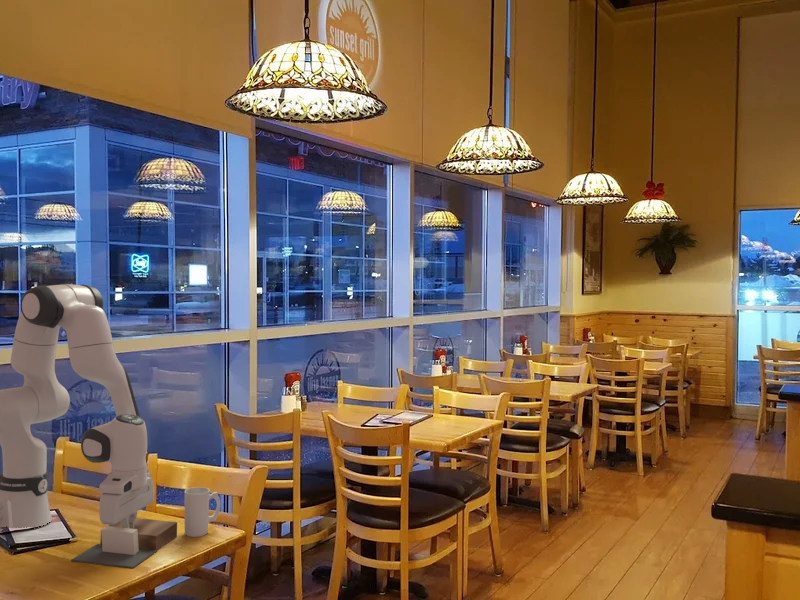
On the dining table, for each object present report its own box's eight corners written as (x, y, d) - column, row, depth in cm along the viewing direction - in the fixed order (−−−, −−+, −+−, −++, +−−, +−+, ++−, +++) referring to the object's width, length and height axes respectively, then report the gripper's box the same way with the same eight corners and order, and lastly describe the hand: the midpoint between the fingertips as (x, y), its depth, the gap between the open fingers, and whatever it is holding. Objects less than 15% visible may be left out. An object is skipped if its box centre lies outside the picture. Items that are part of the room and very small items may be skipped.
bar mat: (71, 561, 184) (71, 559, 184) (97, 545, 194) (97, 543, 194) (133, 568, 180) (133, 566, 180) (156, 552, 191) (156, 550, 191)
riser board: (100, 544, 195) (100, 529, 195) (124, 530, 206) (124, 516, 205) (155, 551, 192) (156, 535, 191) (176, 536, 202) (177, 522, 202)
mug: (186, 538, 201) (187, 495, 200) (181, 531, 207) (181, 488, 206) (223, 533, 206) (224, 490, 205) (216, 525, 212) (217, 484, 211)
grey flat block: (107, 547, 191) (102, 551, 189) (105, 525, 190) (101, 529, 188) (138, 551, 190) (134, 554, 188) (137, 529, 189) (133, 532, 187)
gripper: (139, 467, 203) (138, 516, 204) (94, 487, 183) (94, 542, 183) (160, 468, 202) (159, 518, 202) (118, 489, 182) (117, 545, 182)
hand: (128, 530), depth 193 cm, fingers closed
